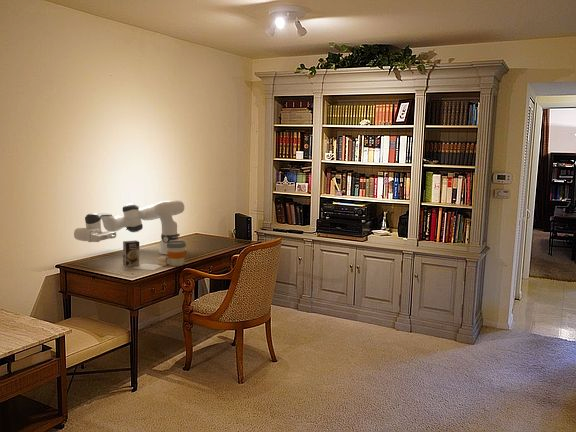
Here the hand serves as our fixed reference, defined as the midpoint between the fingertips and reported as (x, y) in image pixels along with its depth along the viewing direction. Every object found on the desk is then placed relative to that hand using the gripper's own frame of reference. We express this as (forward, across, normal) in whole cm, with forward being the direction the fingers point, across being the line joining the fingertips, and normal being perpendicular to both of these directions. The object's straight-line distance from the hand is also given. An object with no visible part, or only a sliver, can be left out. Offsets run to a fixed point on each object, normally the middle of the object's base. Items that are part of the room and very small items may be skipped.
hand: (114, 236), depth 346 cm
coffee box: (+12, -1, -18) cm, 22 cm away
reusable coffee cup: (+38, -15, -18) cm, 45 cm away
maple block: (+29, -12, -18) cm, 37 cm away
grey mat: (+25, -1, -18) cm, 31 cm away
